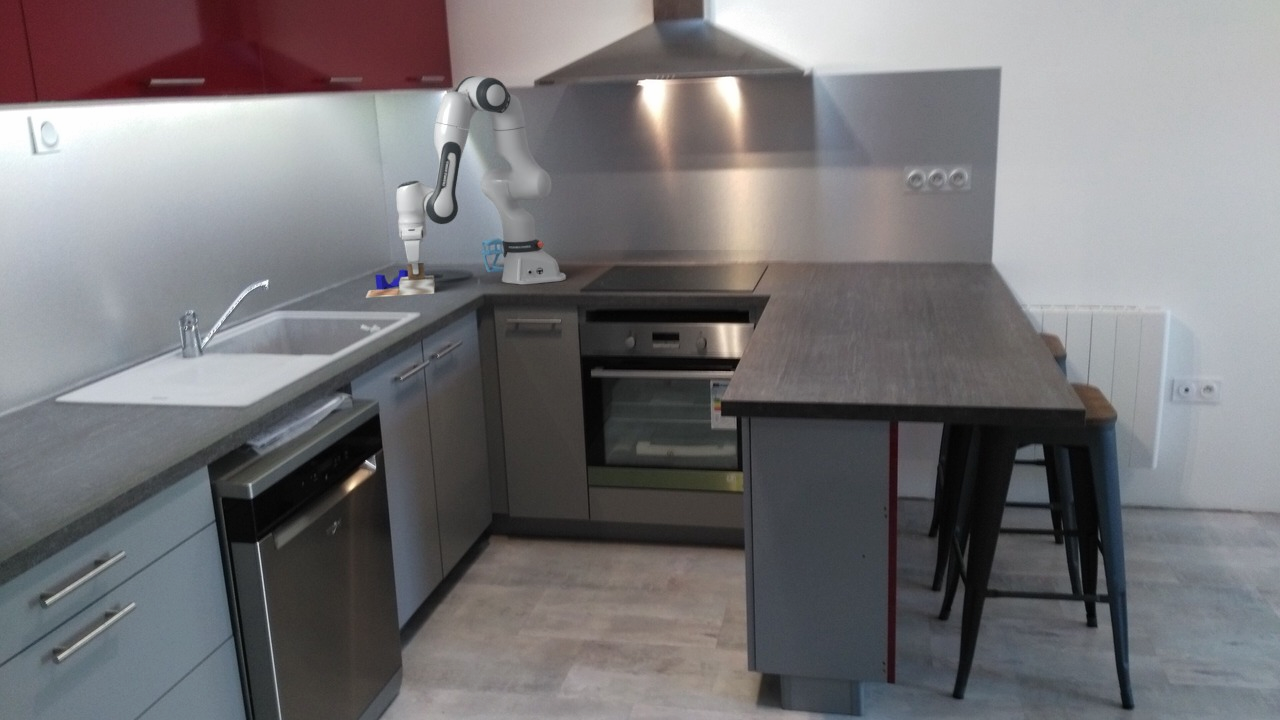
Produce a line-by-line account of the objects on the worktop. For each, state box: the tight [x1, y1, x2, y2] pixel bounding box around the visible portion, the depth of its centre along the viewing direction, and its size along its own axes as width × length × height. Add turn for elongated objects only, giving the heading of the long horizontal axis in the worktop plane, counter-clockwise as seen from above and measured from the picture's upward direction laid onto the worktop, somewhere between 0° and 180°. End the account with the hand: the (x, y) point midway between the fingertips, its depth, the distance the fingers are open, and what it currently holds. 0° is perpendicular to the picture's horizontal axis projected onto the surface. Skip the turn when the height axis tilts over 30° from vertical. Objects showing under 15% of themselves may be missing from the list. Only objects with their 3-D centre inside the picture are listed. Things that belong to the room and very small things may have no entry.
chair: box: [480, 238, 504, 273], centre depth 396 cm, size 8×8×12 cm
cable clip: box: [375, 269, 408, 290], centre depth 366 cm, size 12×4×6 cm, turn 144°
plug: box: [406, 262, 426, 280], centre depth 354 cm, size 5×3×9 cm, turn 99°
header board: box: [365, 274, 436, 299], centre depth 354 cm, size 22×13×5 cm, turn 99°
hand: (416, 272), depth 354 cm, fingers closed on plug, 3 cm apart
